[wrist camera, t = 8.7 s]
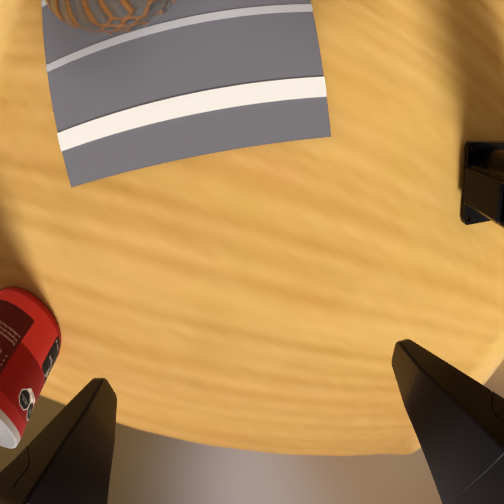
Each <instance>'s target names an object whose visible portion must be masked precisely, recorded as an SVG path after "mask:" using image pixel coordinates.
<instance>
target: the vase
mask: <svg viewBox="0 0 504 504" xmlns="http://www.w3.org/2000/svg"><path fill="white" fill-rule="evenodd" d="M45 1H46V3H47V5H48V6H49V8H50V9H51V11H52V12H53V13H54V14H55V15H56V16H57V18H59V19H60V20H61V21H62V22H64V23H65V24H67V25H68V26H70V27H72V28H75V29H77V30H80V31H83V32H87V33H92V34H98V35H113V34H121V33H126V32H130V31H133V30H136V29H139V28H141V27H144V26H146V25H148V24H149V23H151V22H153V21H155V20H156V19H157V18H159V17H160V16H162V15H163V14H164V13H165V12H166V11H167V10H168V9H169V8H170V7H171V6H172V5H173V4H174V3H175V1H176V0H45Z"/></svg>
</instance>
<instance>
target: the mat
mask: <svg viewBox="0 0 504 504" xmlns="http://www.w3.org/2000/svg"><path fill="white" fill-rule="evenodd" d="M41 7H42V18H43V34H44V46H45V56H46V70H47V73H48V80H49V87H50V93H51V99H52V105H53V111H54V116H55V121H56V126H57V131H58V133H57V135H58V139H59V144H60V148H61V151H62V153H63V157H64V161H65V165H66V169H67V173H68V177H69V180H70V184H71V187H74V186H77V185H81V184H84V183H87V182H91V181H94V180H98V179H102V178H105V177H109V176H113V175H116V174H120V173H124V172H128V171H132V170H136V169H140V168H144V167H148V166H153V165H157V164H161V163H166V162H170V161H175V160H180V159H184V158H189V157H194V156H199V155H205V154H210V153H215V152H221V151H227V150H232V149H238V148H245V147H251V146H258V145H264V144H271V143H279V142H286V141H294V140H303V139H312V138H322V137H331V132H330V123H329V114H328V105H327V93H326V86H325V79H324V75H323V68H322V62H321V56H320V49H319V43H318V37H317V32H316V26H315V21H314V16H313V8H312V4H311V1H310V0H176V1H175V3H174V4H173V5H172V6H171V7H170V8H169V9H168V10H167V11H166V12H165V13H164V14H163V15H162V16H160V17H159V18H157V19H156V20H155V21H153V22H151V23H149V24H148V25H146V26H144V27H141V28H139V29H136V30H133V31H130V32H126V33H121V34H113V35H98V34H92V33H87V32H83V31H80V30H77V29H75V28H72V27H70V26H68V25H67V24H65V23H64V22H62V21H61V20H60V19H59V18H57V16H56V15H55V14H54V13H53V12H52V11H51V9H50V8H49V6H48V5H47V3H46V1H45V0H42V1H41Z"/></svg>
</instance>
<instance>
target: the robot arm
mask: <svg viewBox="0 0 504 504" xmlns="http://www.w3.org/2000/svg"><path fill="white" fill-rule="evenodd" d="M471 146H472V149H471ZM467 217H468V218H467ZM466 218H467V219H466ZM461 221H462V222H463V223H464V224H466V225H469V224H475V223H480V222H486V221H493V222H495V223H496V224H498V225H499V226H501V227H503V228H504V142H494V141H468V142H467V143H466V145H465V170H464V190H463V203H462V214H461ZM392 367H393V370H394V374H395V377H396V380H397V383H398V386H399V390H400V393H401V396H402V400H403V403H404V406H405V408H406V411H407V413H408V416H409V418H410V421H411V423H412V425H413V428H414V430H415V433H416V435H417V437H418V440H419V442H420V445H421V447H422V450H423V452H424V455H425V458H426V460H427V463H428V465H429V468H430V470H431V473H432V476H433V479H434V481H435V484H436V487H437V490H438V492H439V495H440V498H441V501H442V504H504V398H502V397H501V396H499V395H498V394H496V393H494V392H493V391H492V392H491V390H490V389H488V388H487V387H485V386H483V385H482V384H480V383H479V382H477V381H475V380H474V379H472V378H471V377H469V376H468V375H466V374H464V373H463V372H461V371H460V370H458V369H456V368H455V367H453V366H452V365H450V364H448V363H447V362H445V361H444V360H442V359H440V358H439V357H437V356H436V355H434V354H432V353H431V352H429V351H428V350H426V349H424V348H423V347H421V346H420V345H418V344H416V343H415V342H413V341H412V340H410V339H405V340H401V341H398V342H397V343H396V344H395V348H394V353H393V357H392ZM116 408H117V397H116V394H115V392H114V391H113V389H112V387H111V386H110V384H109V382H108V381H107V380H106V379H105V378H94V379H92V380H91V381H90V382H89V383H88V384H87V385H86V386H85V387H84V388H83V389H82V390H81V391H80V392H79V393H78V394H77V395H76V396H75V397H74V398H73V399H72V400H71V401H70V402H69V403H68V404H67V405H66V406H65V407H64V408H63V410H61V412H59V414H58V415H57V416H56V417H55V418H54V419H53V420H52V421H51V422H50V423H49V424H48V425H47V426H46V427H45V428H44V429H43V430H42V431H41V432H40V433H39V434H38V435H37V436H36V437H35V438H34V439H33V440H32V441H31V442H30V444H29V446H26V448H25V449H24V450H23V451H22V452H21V453H20V454H19V455H18V456H17V457H16V458H15V459H14V460H13V461H12V462H11V463H9V464H8V466H6V467H5V468H4V469H3V470H1V472H0V504H107V501H108V490H109V481H110V474H111V466H112V458H113V451H114V443H115V427H116Z"/></svg>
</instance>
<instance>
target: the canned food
mask: <svg viewBox="0 0 504 504" xmlns="http://www.w3.org/2000/svg"><path fill="white" fill-rule="evenodd" d="M60 346H61V333H60V329H59V326H58V324H57V322H56V320H55V318H54V317H53V315H52V314H51V312H50V311H49V310H48V308H47V307H46V306H45V305H44V304H43V303H42V302H41V301H40V300H39V299H38V298H36V297H35V296H34V295H32V294H31V293H29V292H28V291H25V290H23V289H21V288H16V287H8V288H5V289H3V290H0V446H2V447H6V448H15V447H16V446H17V444H18V443H19V441H20V439H21V437H22V434H23V432H24V429H25V427H26V425H27V422H28V420H29V417H30V415H31V412H32V410H33V408H34V406H35V403H36V401H37V399H38V397H39V394H40V392H41V390H42V388H43V386H44V383H45V381H46V379H47V377H48V375H49V373H50V371H51V369H52V367H53V365H54V363H55V361H56V359H57V357H58V355H59V352H60Z"/></svg>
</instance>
